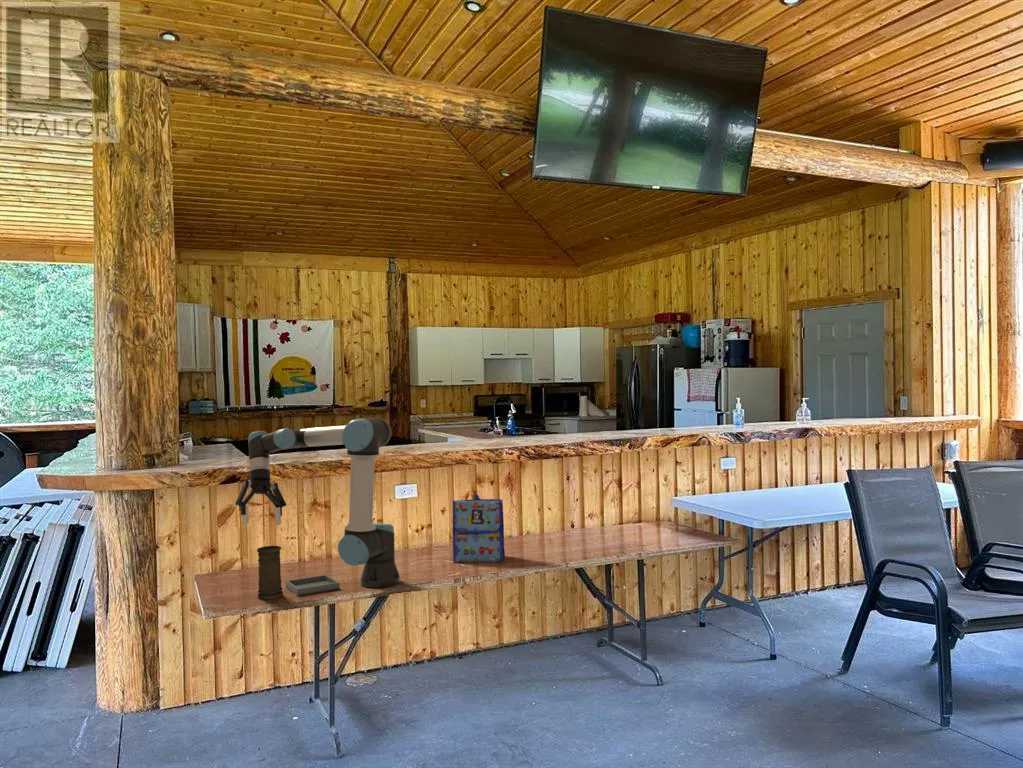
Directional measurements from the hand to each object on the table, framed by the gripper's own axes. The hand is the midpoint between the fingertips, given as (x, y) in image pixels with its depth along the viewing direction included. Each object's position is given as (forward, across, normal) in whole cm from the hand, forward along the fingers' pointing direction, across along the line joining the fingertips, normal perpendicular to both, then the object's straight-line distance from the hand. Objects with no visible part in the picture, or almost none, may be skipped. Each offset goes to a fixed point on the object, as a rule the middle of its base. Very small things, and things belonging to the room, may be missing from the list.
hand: (262, 524), depth 286 cm
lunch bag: (+20, -89, +25) cm, 95 cm away
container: (+27, -2, +1) cm, 27 cm away
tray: (+25, -17, +4) cm, 31 cm away
